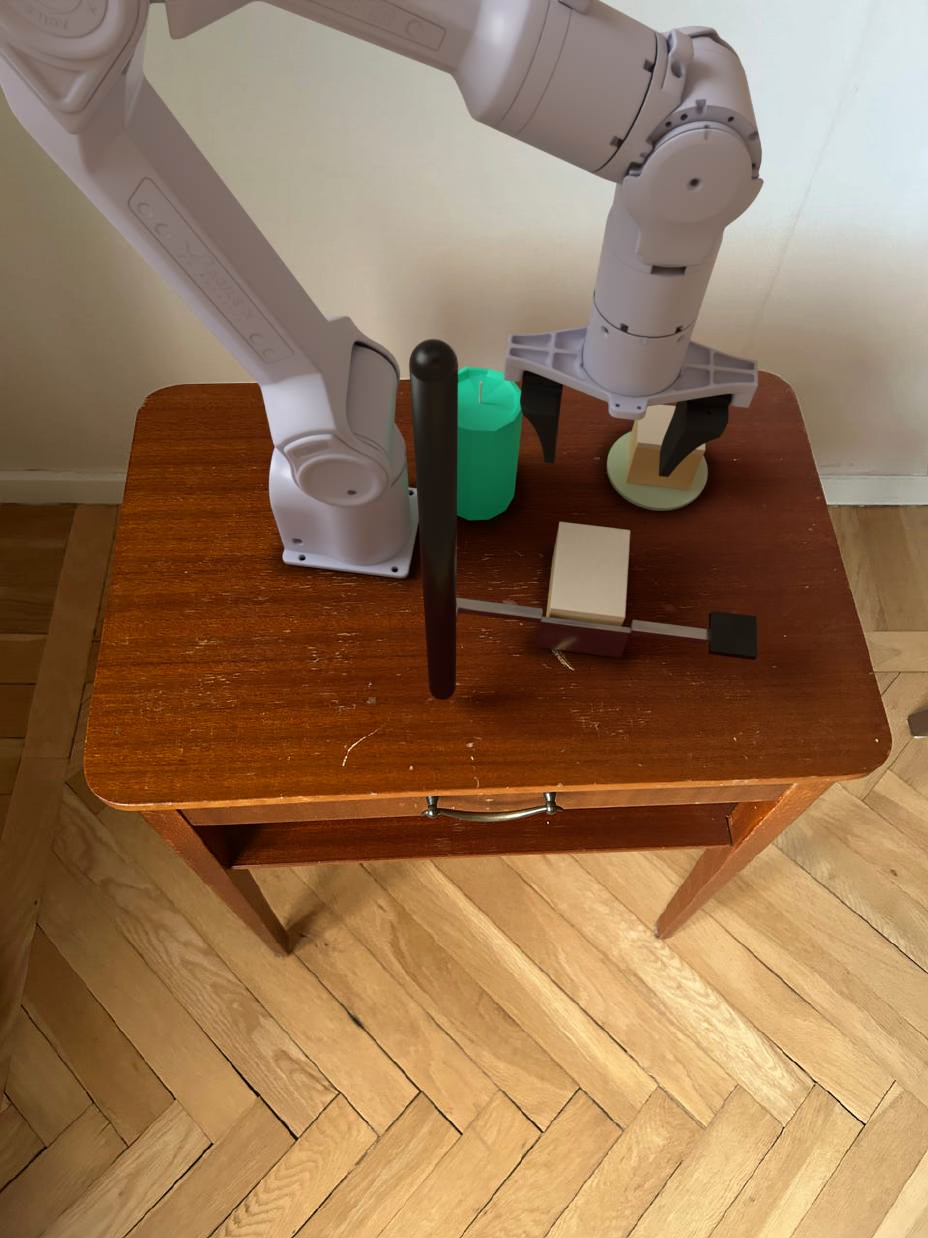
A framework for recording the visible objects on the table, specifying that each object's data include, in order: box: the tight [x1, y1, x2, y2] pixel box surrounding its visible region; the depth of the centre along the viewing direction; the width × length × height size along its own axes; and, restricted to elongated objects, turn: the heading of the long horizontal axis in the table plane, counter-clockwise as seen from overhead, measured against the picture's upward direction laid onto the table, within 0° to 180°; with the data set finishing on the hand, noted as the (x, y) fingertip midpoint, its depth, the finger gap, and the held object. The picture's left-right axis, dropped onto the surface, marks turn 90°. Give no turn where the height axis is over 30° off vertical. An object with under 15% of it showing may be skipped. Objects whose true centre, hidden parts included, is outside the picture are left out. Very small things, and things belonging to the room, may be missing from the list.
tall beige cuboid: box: [545, 521, 631, 627], centre depth 62 cm, size 5×7×5 cm
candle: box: [457, 366, 524, 521], centre depth 64 cm, size 6×6×12 cm
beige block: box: [626, 404, 706, 490], centre depth 67 cm, size 5×4×5 cm
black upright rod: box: [408, 338, 758, 701], centre depth 47 cm, size 21×7×33 cm, turn 82°
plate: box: [606, 430, 709, 512], centre depth 70 cm, size 8×8×1 cm
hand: (607, 458), depth 59 cm, fingers open, 7 cm apart
